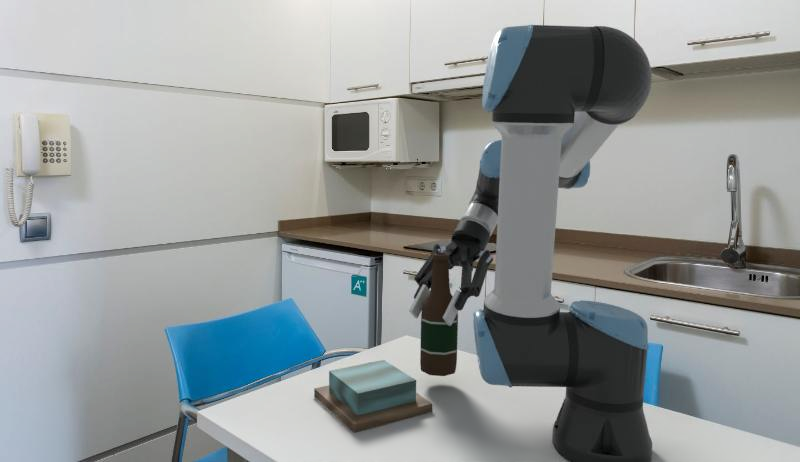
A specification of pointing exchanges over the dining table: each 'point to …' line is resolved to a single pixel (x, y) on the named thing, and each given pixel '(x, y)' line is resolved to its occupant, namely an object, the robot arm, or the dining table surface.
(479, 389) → the dining table surface
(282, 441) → the dining table surface
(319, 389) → the display base
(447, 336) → the beer bottle
